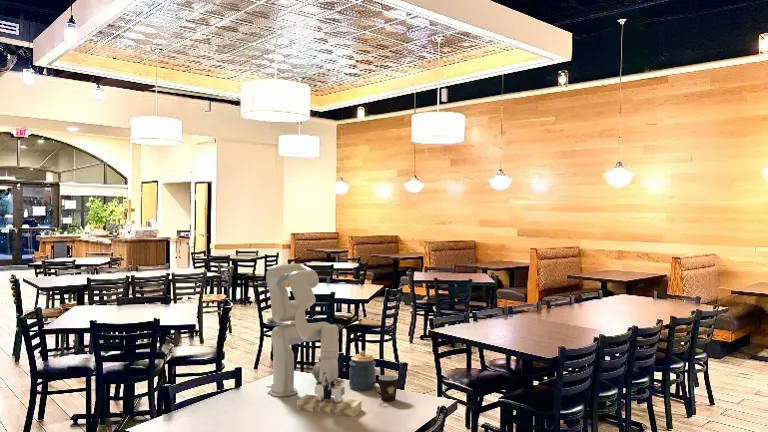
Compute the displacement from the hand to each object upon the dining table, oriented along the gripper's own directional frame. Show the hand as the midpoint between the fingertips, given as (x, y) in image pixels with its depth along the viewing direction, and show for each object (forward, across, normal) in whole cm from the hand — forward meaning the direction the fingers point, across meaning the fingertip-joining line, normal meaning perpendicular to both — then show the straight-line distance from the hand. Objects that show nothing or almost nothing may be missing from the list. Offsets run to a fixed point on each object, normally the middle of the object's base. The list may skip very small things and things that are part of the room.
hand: (329, 396), depth 248 cm
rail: (+6, 0, 0) cm, 6 cm away
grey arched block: (+4, 0, 0) cm, 4 cm away
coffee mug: (+6, -21, +18) cm, 28 cm away
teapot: (+6, -39, -20) cm, 44 cm away
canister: (+6, -36, +2) cm, 36 cm away
